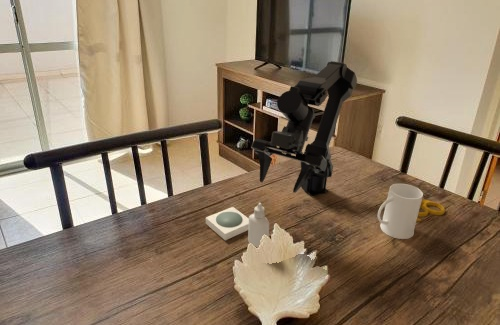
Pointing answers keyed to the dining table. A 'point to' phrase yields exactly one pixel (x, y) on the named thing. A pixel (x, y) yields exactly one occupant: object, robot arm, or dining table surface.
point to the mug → (400, 211)
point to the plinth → (228, 223)
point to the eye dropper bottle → (257, 225)
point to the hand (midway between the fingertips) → (277, 187)
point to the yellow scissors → (424, 206)
